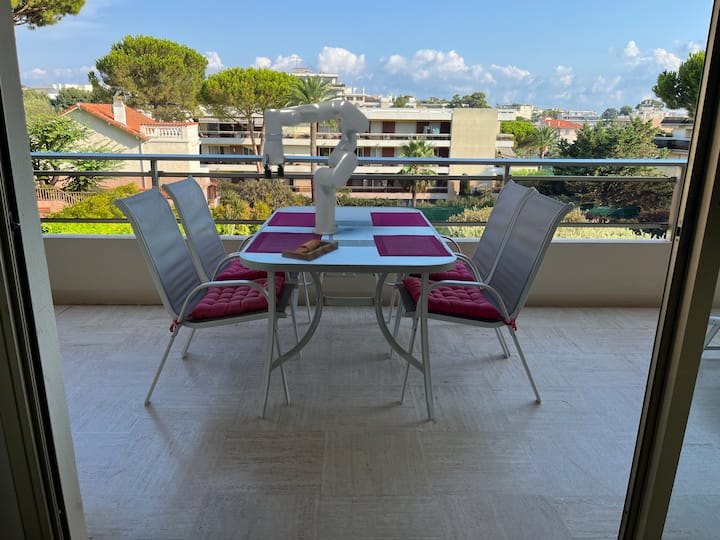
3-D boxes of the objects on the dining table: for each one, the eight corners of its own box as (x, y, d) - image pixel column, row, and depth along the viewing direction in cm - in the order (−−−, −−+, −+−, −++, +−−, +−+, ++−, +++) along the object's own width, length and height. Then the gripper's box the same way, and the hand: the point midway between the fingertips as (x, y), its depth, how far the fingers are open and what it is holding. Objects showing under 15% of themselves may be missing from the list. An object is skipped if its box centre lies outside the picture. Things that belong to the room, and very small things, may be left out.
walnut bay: (311, 244, 237) (311, 238, 236) (338, 248, 232) (338, 241, 231) (281, 256, 216) (281, 249, 216) (309, 261, 211) (309, 254, 210)
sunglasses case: (302, 245, 235) (309, 233, 233) (315, 254, 235) (323, 242, 233) (290, 256, 218) (298, 243, 216) (304, 265, 218) (312, 252, 216)
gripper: (277, 137, 241) (278, 175, 246) (254, 138, 226) (255, 179, 231) (291, 138, 238) (292, 176, 243) (269, 139, 223) (270, 180, 228)
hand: (274, 177), depth 237 cm, fingers open, 9 cm apart
